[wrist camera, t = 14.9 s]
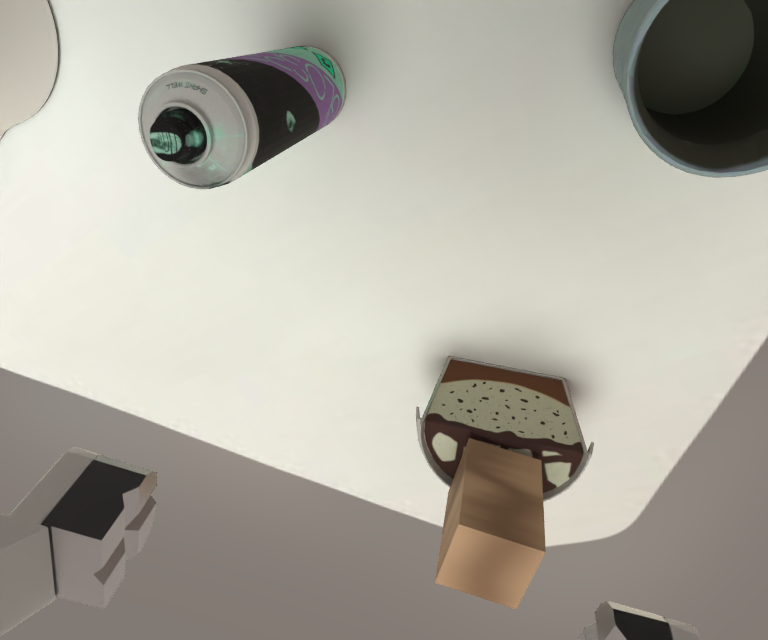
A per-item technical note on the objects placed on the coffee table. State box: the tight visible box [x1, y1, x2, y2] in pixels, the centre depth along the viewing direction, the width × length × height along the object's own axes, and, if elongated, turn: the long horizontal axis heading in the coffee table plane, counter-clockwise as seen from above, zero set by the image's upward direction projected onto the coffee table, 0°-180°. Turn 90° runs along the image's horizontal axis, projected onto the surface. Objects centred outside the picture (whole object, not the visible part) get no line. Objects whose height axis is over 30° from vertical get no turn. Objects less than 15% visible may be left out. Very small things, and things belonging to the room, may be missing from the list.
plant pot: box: [613, 0, 768, 177], centre depth 33 cm, size 10×10×12 cm
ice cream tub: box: [416, 356, 594, 502], centre depth 47 cm, size 12×6×10 cm, turn 84°
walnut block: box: [435, 438, 545, 609], centre depth 39 cm, size 5×5×8 cm
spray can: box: [138, 46, 346, 189], centre depth 35 cm, size 6×6×20 cm
